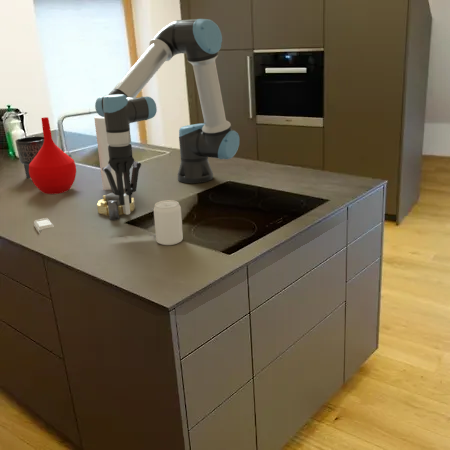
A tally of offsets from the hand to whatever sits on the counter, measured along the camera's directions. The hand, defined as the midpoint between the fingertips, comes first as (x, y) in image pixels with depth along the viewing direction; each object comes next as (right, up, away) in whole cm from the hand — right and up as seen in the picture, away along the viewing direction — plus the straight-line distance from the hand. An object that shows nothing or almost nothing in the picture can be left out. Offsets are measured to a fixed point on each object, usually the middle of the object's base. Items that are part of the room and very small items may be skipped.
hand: (126, 213), depth 176 cm
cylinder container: (-12, +11, +38) cm, 41 cm away
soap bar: (-27, -6, -3) cm, 28 cm away
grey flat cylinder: (-7, 0, +7) cm, 10 cm away
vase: (-36, +10, +38) cm, 53 cm away
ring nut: (-5, +1, +6) cm, 7 cm away
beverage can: (+16, -9, -17) cm, 26 cm away
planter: (-51, +17, +58) cm, 79 cm away
